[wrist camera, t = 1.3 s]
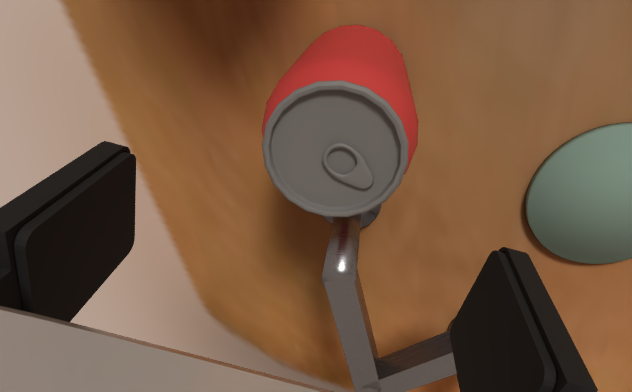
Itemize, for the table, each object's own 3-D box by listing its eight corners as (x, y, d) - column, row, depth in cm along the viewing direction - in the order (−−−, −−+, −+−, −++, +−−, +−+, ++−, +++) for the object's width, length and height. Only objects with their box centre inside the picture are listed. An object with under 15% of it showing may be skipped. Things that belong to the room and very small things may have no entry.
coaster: (736, 147, 25) (743, 151, 25) (636, 274, 30) (641, 279, 30) (572, 103, 25) (576, 106, 25) (499, 237, 30) (501, 242, 30)
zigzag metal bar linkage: (573, 227, 29) (647, 330, 21) (490, 356, 36) (522, 473, 28) (327, 161, 29) (306, 238, 21) (289, 302, 36) (262, 402, 28)
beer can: (354, 149, 29) (338, 256, 18) (279, 82, 27) (215, 157, 17) (429, 77, 26) (462, 154, 15) (350, -3, 24) (326, 23, 14)
